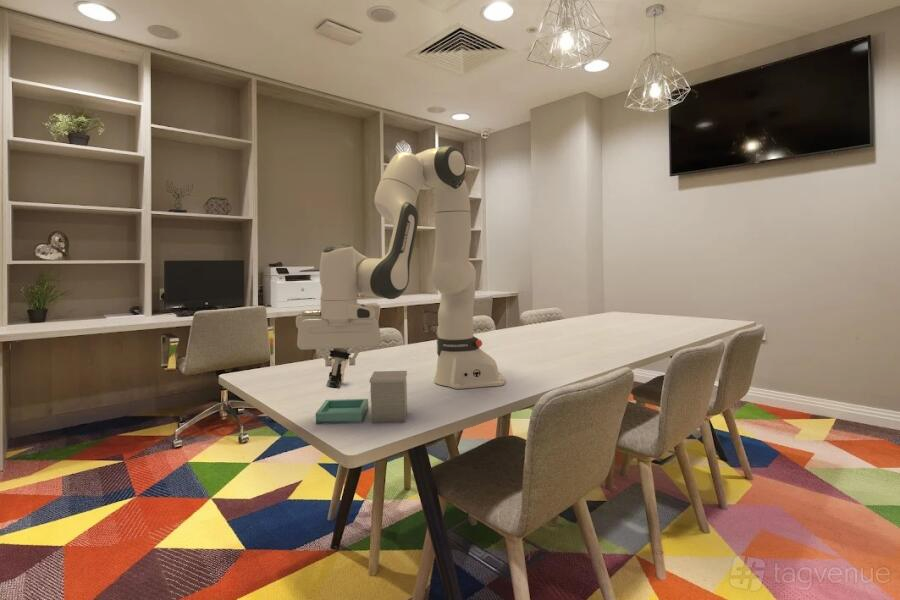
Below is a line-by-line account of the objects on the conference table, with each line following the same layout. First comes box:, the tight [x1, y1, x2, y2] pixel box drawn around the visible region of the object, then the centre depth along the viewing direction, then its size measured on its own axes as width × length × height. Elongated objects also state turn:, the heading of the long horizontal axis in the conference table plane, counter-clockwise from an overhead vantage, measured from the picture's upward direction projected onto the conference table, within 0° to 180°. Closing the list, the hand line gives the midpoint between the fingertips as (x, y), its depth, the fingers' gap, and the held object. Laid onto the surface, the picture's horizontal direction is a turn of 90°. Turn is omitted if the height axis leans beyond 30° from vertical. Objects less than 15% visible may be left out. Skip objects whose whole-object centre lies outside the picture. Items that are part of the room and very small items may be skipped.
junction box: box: [369, 370, 408, 424], centre depth 116 cm, size 9×8×11 cm
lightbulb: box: [328, 354, 349, 384], centre depth 147 cm, size 6×6×11 cm
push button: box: [326, 348, 352, 389], centre depth 117 cm, size 7×5×10 cm
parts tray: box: [314, 398, 369, 425], centre depth 118 cm, size 11×11×2 cm
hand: (340, 365), depth 117 cm, fingers closed on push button, 4 cm apart
